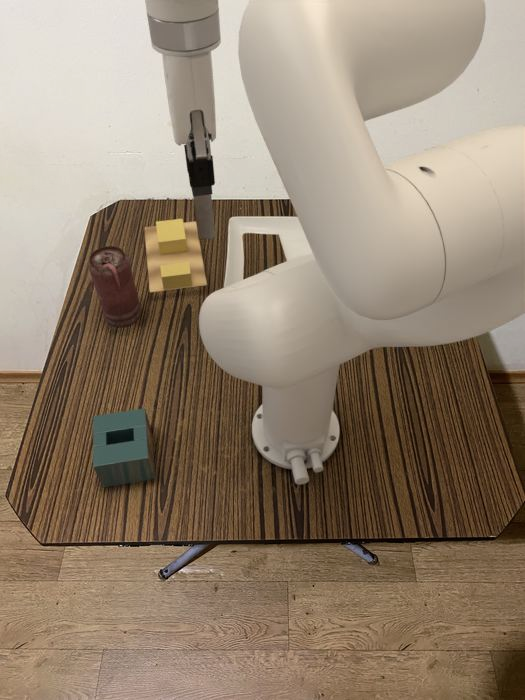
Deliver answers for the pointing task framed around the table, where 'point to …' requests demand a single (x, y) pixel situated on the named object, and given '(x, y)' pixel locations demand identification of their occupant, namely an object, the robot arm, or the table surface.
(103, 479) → the stand
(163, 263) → the butter board
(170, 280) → the block
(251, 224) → the square plate
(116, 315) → the can
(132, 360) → the table surface
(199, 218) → the knife
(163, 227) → the butter block
